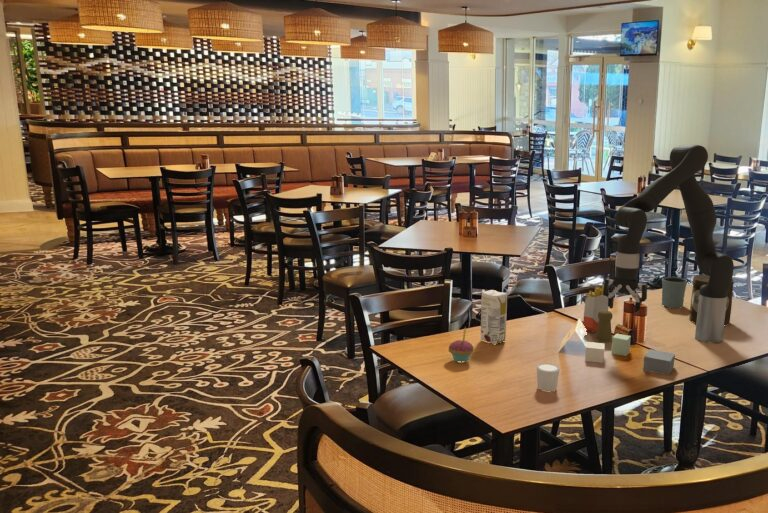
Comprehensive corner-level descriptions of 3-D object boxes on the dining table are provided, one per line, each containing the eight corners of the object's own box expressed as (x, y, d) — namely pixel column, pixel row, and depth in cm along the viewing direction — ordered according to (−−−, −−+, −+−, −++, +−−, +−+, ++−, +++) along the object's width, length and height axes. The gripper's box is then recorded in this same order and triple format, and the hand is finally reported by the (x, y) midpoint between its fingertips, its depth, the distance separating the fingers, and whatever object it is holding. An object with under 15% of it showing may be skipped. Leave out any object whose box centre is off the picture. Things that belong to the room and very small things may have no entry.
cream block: (585, 355, 226) (586, 341, 225) (603, 357, 224) (604, 343, 223) (585, 361, 221) (585, 347, 220) (603, 363, 219) (604, 349, 218)
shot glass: (532, 384, 202) (533, 363, 200) (553, 383, 202) (555, 362, 201) (539, 393, 195) (540, 372, 193) (561, 392, 196) (562, 371, 194)
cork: (613, 342, 238) (615, 314, 236) (596, 341, 240) (598, 313, 237) (610, 336, 244) (612, 309, 242) (594, 336, 245) (596, 308, 243)
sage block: (615, 349, 231) (616, 333, 230) (629, 351, 229) (630, 336, 227) (611, 353, 227) (612, 337, 226) (625, 356, 225) (627, 340, 223)
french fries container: (581, 331, 251) (584, 287, 247) (596, 325, 258) (599, 282, 254) (592, 334, 247) (595, 289, 243) (607, 328, 254) (610, 284, 250)
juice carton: (495, 346, 235) (497, 296, 231) (477, 340, 241) (478, 292, 237) (508, 341, 240) (510, 293, 236) (490, 336, 246) (491, 288, 242)
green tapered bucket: (663, 308, 280) (665, 281, 277) (657, 301, 290) (659, 276, 287) (687, 309, 278) (690, 282, 276) (681, 302, 288) (683, 276, 286)
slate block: (648, 363, 219) (649, 349, 218) (673, 367, 214) (674, 353, 213) (643, 370, 212) (644, 356, 211) (668, 375, 208) (670, 361, 207)
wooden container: (686, 323, 259) (692, 270, 255) (691, 313, 272) (696, 263, 267) (728, 329, 252) (734, 275, 247) (730, 319, 264) (736, 267, 259)
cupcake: (459, 354, 227) (459, 322, 225) (478, 360, 222) (479, 327, 219) (443, 360, 222) (443, 327, 219) (462, 367, 216) (463, 333, 213)
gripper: (651, 265, 220) (647, 310, 224) (609, 260, 228) (605, 304, 232) (646, 269, 214) (642, 316, 218) (603, 264, 222) (599, 309, 226)
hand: (623, 309), depth 225 cm, fingers open, 8 cm apart
